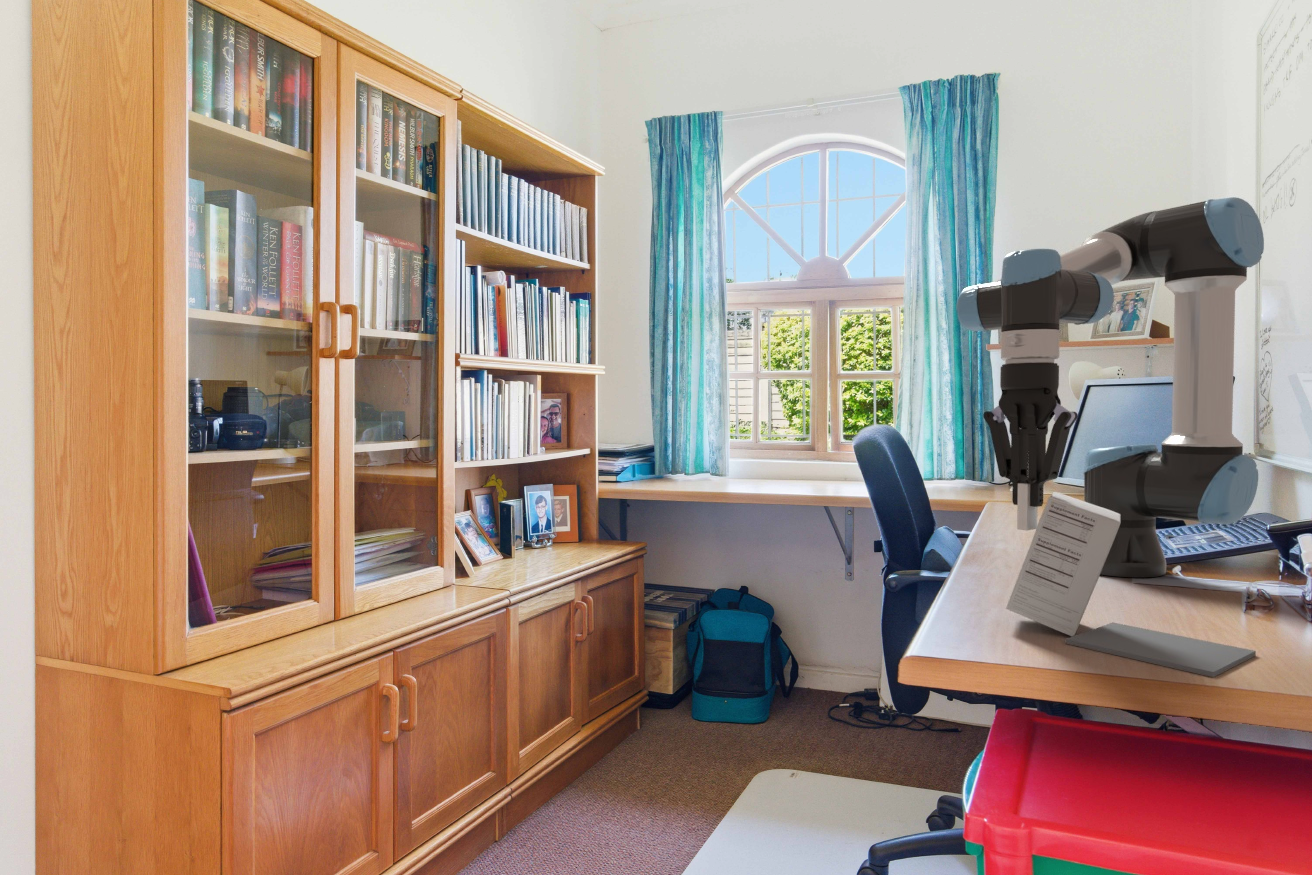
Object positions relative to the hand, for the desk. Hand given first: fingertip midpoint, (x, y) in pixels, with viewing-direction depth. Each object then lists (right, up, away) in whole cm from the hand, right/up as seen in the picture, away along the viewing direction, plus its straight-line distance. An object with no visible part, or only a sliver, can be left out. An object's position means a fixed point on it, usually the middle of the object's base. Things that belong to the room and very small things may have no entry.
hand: (1027, 528), depth 118 cm
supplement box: (+1, -12, -1) cm, 12 cm away
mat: (+11, -14, -12) cm, 22 cm away
